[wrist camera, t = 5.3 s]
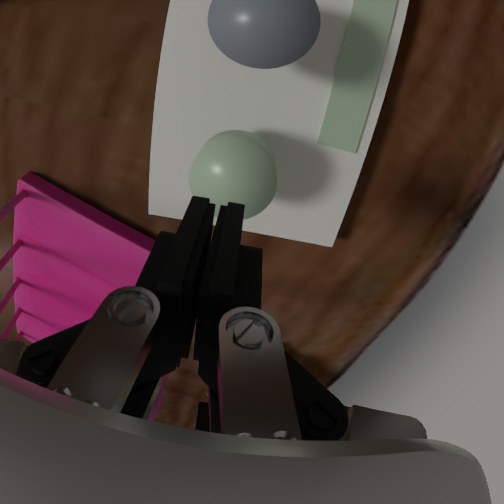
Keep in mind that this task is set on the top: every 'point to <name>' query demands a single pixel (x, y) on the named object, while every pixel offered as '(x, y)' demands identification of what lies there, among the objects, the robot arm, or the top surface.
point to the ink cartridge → (203, 417)
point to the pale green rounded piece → (235, 172)
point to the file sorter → (66, 261)
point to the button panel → (277, 112)
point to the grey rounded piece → (264, 30)
